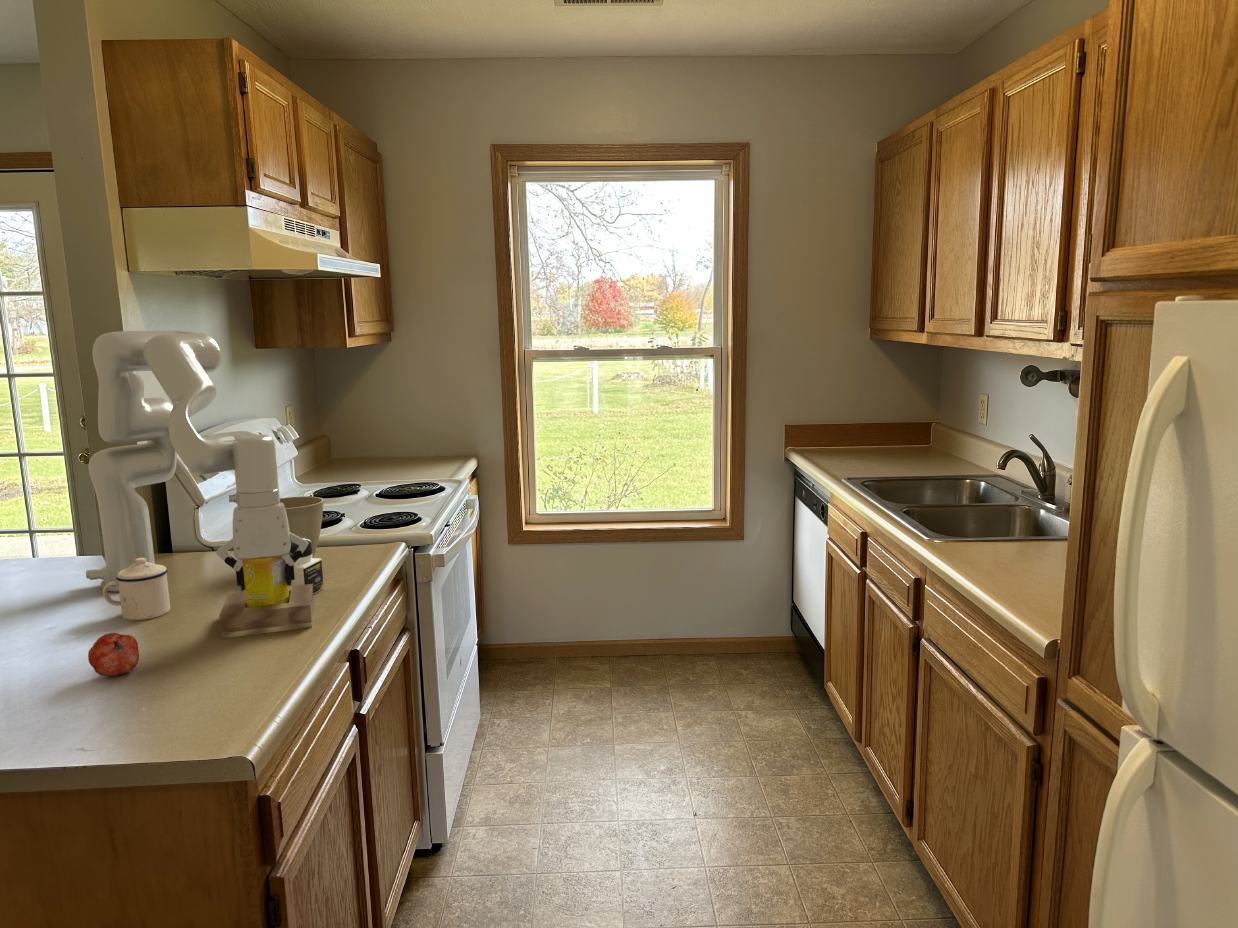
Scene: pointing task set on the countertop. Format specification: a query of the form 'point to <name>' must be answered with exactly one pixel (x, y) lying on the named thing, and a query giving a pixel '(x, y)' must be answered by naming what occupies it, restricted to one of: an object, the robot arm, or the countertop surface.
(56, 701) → the countertop surface
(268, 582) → the supplement box
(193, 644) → the countertop surface
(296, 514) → the plant pot
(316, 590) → the medicine bottle
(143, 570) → the teacup with lid
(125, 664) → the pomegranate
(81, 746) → the countertop surface
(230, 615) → the wooden square frame
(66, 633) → the countertop surface
